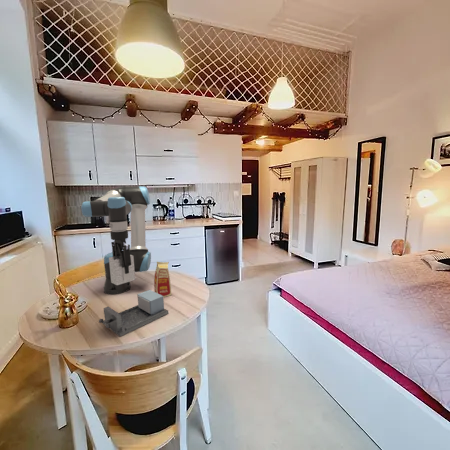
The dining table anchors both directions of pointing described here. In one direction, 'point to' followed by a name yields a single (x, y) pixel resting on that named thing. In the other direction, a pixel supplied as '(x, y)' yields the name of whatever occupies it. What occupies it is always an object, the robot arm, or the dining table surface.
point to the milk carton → (162, 279)
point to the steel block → (120, 270)
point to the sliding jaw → (150, 302)
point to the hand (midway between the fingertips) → (123, 278)
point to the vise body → (128, 319)
